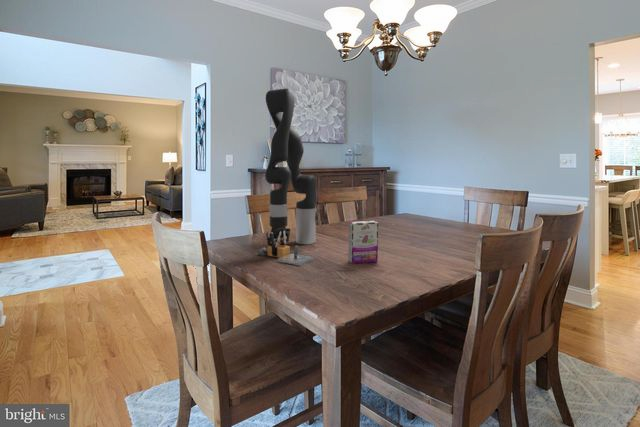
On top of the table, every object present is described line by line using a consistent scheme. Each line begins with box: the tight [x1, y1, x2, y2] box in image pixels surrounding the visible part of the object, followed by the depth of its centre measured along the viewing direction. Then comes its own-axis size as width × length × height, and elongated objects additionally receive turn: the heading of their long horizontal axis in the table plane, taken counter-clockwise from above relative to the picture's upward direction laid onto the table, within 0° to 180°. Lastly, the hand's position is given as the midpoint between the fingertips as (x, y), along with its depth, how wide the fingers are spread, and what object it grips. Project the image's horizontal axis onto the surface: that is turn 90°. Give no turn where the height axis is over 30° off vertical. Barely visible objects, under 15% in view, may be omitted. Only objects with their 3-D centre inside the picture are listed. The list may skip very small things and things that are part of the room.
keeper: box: [277, 245, 315, 267], centre depth 150 cm, size 10×11×6 cm
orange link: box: [267, 243, 291, 258], centre depth 158 cm, size 5×8×4 cm, turn 59°
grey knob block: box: [257, 247, 268, 257], centre depth 160 cm, size 4×3×3 cm
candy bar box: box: [347, 220, 379, 265], centre depth 149 cm, size 11×5×16 cm, turn 105°
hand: (278, 254), depth 158 cm, fingers closed on orange link, 5 cm apart
